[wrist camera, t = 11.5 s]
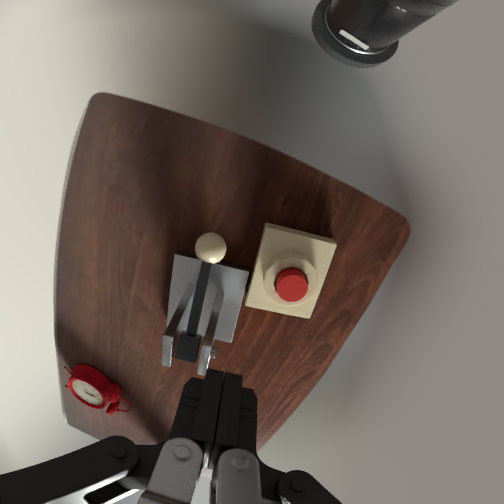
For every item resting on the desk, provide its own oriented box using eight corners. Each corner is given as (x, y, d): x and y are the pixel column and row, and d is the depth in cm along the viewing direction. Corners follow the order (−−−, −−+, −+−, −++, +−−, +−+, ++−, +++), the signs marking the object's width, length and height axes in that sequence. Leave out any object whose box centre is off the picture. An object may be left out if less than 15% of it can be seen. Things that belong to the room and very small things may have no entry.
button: (280, 264, 34) (281, 271, 32) (309, 271, 34) (312, 278, 32) (272, 291, 35) (273, 298, 33) (300, 297, 35) (302, 305, 33)
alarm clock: (60, 363, 42) (119, 410, 41) (80, 348, 48) (136, 391, 46) (62, 391, 45) (115, 433, 44) (79, 376, 51) (130, 415, 50)
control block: (265, 222, 36) (266, 230, 32) (332, 239, 36) (340, 249, 32) (246, 297, 39) (244, 312, 36) (307, 310, 40) (311, 326, 36)
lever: (200, 232, 33) (197, 226, 29) (229, 239, 33) (229, 233, 29) (174, 351, 31) (168, 357, 27) (202, 358, 31) (199, 365, 27)
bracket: (176, 250, 37) (141, 297, 25) (249, 267, 38) (244, 322, 26) (168, 322, 41) (140, 380, 29) (231, 338, 42) (222, 401, 30)
